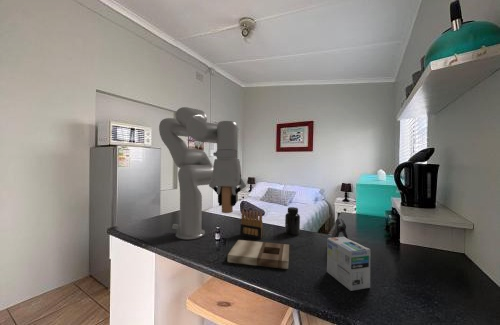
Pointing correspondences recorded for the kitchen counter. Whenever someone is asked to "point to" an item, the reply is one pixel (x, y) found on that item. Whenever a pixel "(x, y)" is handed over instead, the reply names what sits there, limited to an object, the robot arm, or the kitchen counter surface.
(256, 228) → the ammunition clip
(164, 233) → the kitchen counter surface
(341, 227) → the phone stand
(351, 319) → the kitchen counter surface
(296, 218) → the supplement bottle
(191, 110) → the robot arm
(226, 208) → the peg
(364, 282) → the light bulb box
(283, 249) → the plywood deck
